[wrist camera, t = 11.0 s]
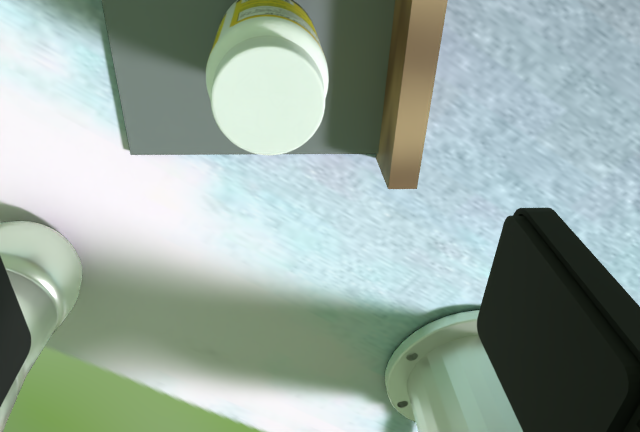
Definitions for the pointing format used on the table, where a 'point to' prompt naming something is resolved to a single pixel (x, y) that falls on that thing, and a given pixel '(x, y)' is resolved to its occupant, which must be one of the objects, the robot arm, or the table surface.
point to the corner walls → (409, 89)
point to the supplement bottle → (267, 76)
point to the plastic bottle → (38, 287)
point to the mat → (190, 74)
